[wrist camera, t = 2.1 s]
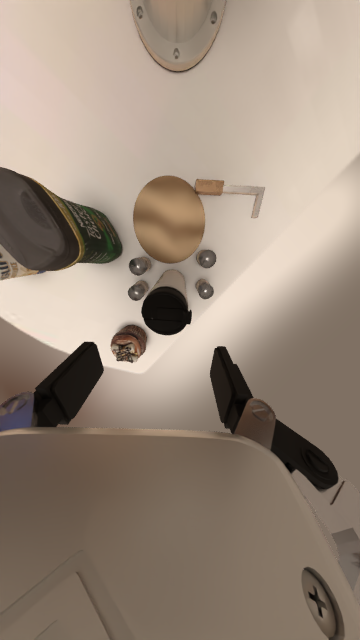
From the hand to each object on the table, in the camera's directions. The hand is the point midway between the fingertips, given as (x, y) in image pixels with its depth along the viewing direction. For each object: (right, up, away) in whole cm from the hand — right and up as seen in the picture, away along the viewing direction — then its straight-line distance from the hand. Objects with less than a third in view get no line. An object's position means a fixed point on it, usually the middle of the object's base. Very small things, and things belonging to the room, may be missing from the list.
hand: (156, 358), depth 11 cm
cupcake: (-13, -2, +31) cm, 34 cm away
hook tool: (+11, +27, +16) cm, 33 cm away
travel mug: (0, +13, +24) cm, 27 cm away
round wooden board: (0, +23, +18) cm, 29 cm away
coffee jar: (-16, +21, +19) cm, 33 cm away
